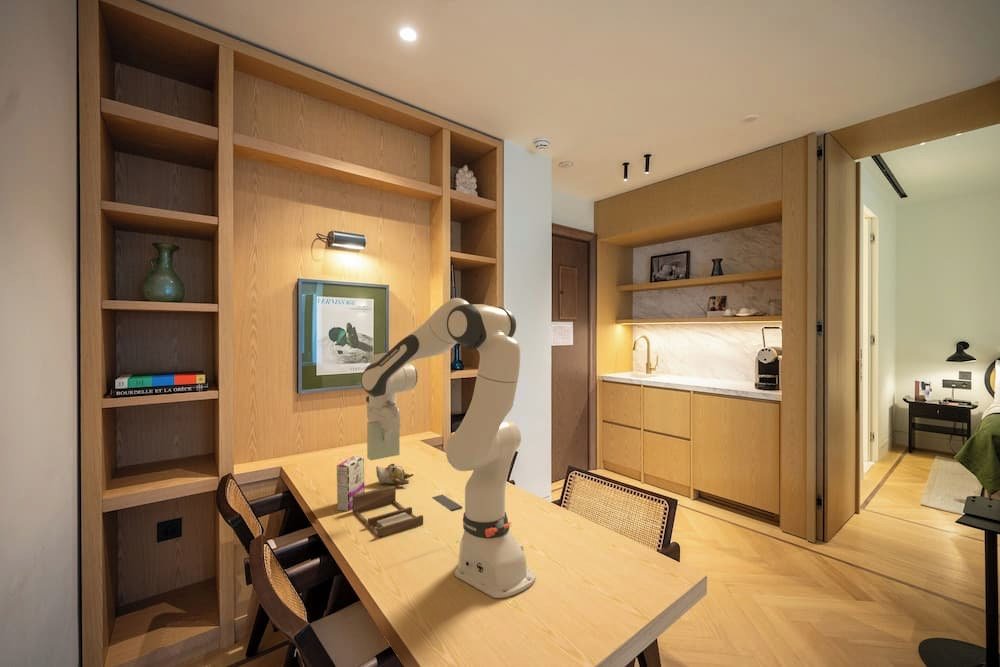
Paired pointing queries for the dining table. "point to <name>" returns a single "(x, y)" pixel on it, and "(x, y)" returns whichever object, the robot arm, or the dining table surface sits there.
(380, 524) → the upper offcut
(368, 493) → the frame
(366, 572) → the dining table surface
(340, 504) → the candy bar box
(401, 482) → the ceramic sculpture
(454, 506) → the rubber mat
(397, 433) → the beige rectangular block
